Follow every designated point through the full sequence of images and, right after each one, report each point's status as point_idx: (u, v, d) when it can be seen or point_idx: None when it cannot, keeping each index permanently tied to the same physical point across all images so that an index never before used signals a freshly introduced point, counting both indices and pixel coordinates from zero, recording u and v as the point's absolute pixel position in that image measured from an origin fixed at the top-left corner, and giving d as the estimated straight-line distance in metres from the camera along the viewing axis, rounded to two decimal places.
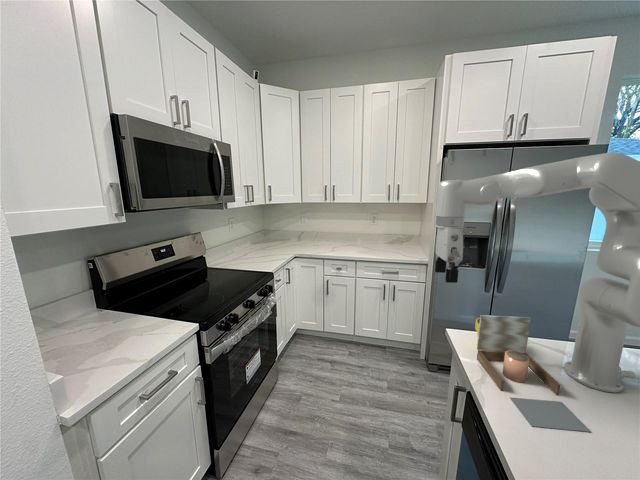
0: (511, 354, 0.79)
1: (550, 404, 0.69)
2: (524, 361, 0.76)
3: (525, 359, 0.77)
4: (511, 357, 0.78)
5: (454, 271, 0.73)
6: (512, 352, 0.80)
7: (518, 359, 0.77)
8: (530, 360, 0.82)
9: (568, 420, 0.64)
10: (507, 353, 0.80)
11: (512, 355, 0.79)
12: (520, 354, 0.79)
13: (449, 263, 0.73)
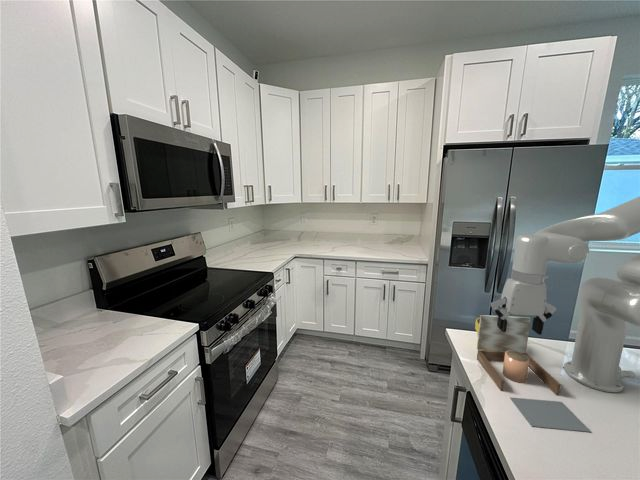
0: (511, 354, 0.79)
1: (550, 404, 0.69)
2: (524, 361, 0.76)
3: (525, 359, 0.77)
4: (511, 357, 0.78)
5: None
6: (512, 352, 0.80)
7: (518, 359, 0.77)
8: (530, 360, 0.82)
9: (568, 420, 0.64)
10: (507, 353, 0.80)
11: (512, 355, 0.79)
12: (520, 354, 0.79)
13: (543, 316, 0.74)
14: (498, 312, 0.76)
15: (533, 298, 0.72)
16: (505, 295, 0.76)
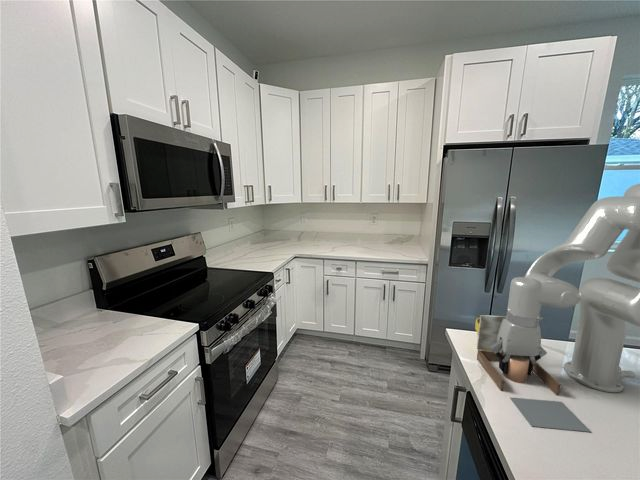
0: None
1: (550, 404, 0.69)
2: (524, 361, 0.76)
3: (525, 359, 0.77)
4: (511, 357, 0.78)
5: None
6: None
7: (517, 359, 0.77)
8: None
9: (568, 420, 0.64)
10: None
11: (512, 355, 0.79)
12: None
13: None
14: (499, 355, 0.78)
15: (528, 340, 0.75)
16: (501, 335, 0.78)
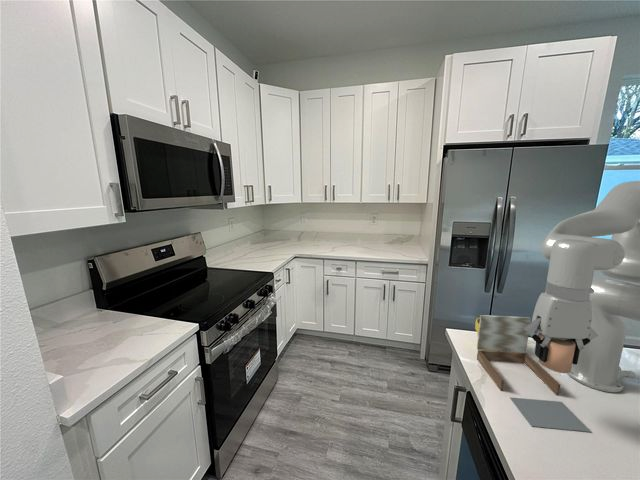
0: (551, 338, 0.63)
1: (550, 404, 0.69)
2: (569, 345, 0.60)
3: (570, 343, 0.61)
4: (552, 340, 0.62)
5: None
6: None
7: (560, 343, 0.61)
8: (530, 360, 0.82)
9: (568, 420, 0.64)
10: None
11: (553, 339, 0.63)
12: None
13: (581, 342, 0.61)
14: (537, 338, 0.62)
15: (575, 318, 0.59)
16: (539, 313, 0.62)
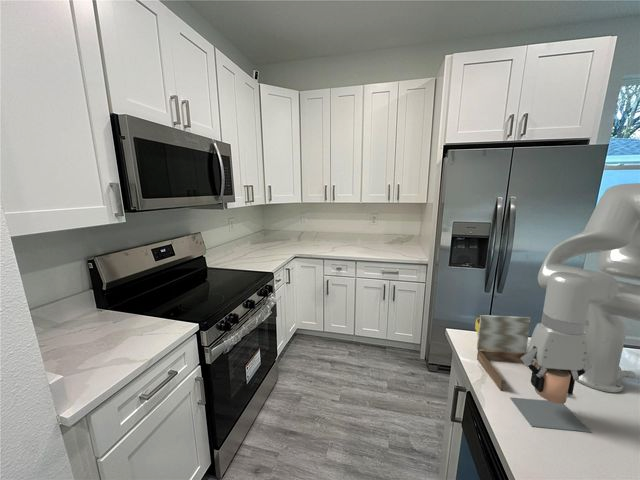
0: None
1: (550, 404, 0.69)
2: (565, 376, 0.61)
3: (565, 373, 0.62)
4: (547, 370, 0.63)
5: None
6: None
7: (556, 374, 0.62)
8: None
9: (568, 420, 0.64)
10: None
11: (549, 369, 0.64)
12: None
13: (576, 373, 0.62)
14: (533, 368, 0.63)
15: (571, 350, 0.60)
16: (535, 344, 0.63)
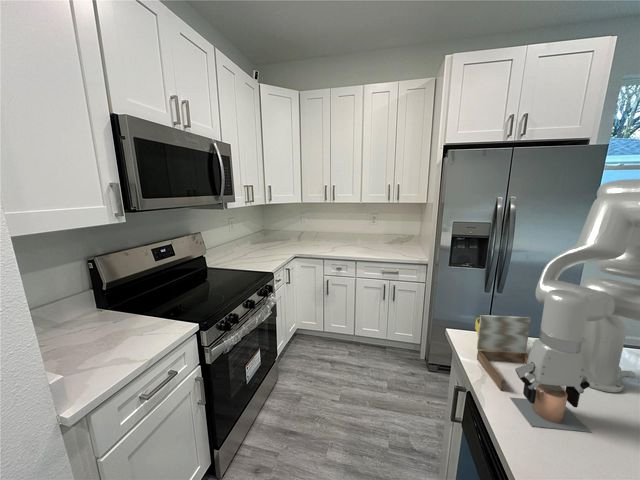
0: (544, 387, 0.65)
1: None
2: (561, 397, 0.62)
3: (562, 394, 0.63)
4: (544, 390, 0.64)
5: None
6: (544, 384, 0.66)
7: (553, 394, 0.63)
8: None
9: (568, 420, 0.64)
10: (539, 385, 0.66)
11: (546, 388, 0.65)
12: (555, 386, 0.65)
13: (580, 386, 0.63)
14: (525, 380, 0.64)
15: (568, 367, 0.61)
16: (533, 360, 0.64)
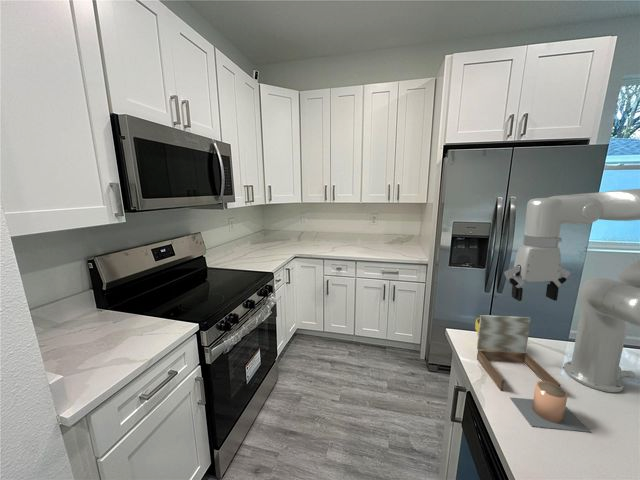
0: (544, 387, 0.65)
1: None
2: (561, 397, 0.62)
3: (562, 394, 0.63)
4: (544, 390, 0.64)
5: None
6: (544, 384, 0.66)
7: (553, 394, 0.63)
8: (530, 360, 0.82)
9: (568, 420, 0.64)
10: (539, 385, 0.66)
11: (546, 388, 0.65)
12: (555, 387, 0.65)
13: None
14: (513, 280, 0.73)
15: (548, 263, 0.70)
16: (519, 262, 0.73)
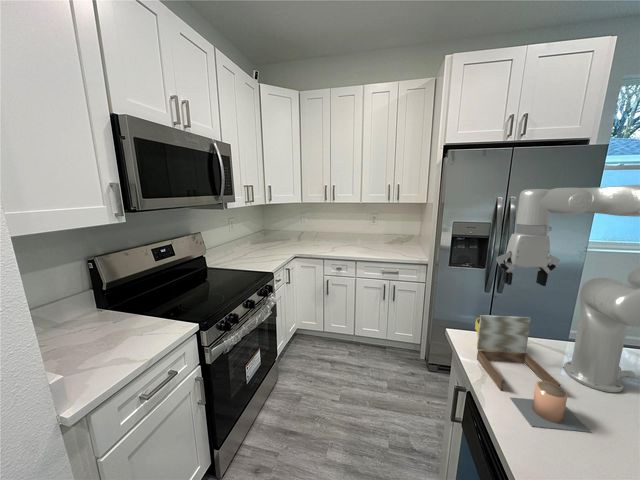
0: (544, 387, 0.65)
1: None
2: (561, 397, 0.62)
3: (562, 394, 0.63)
4: (544, 390, 0.64)
5: None
6: (544, 384, 0.66)
7: (553, 394, 0.63)
8: (530, 360, 0.82)
9: (568, 420, 0.64)
10: (539, 385, 0.66)
11: (546, 388, 0.65)
12: (555, 386, 0.65)
13: (547, 267, 0.77)
14: (503, 266, 0.79)
15: (537, 249, 0.75)
16: (510, 249, 0.79)
